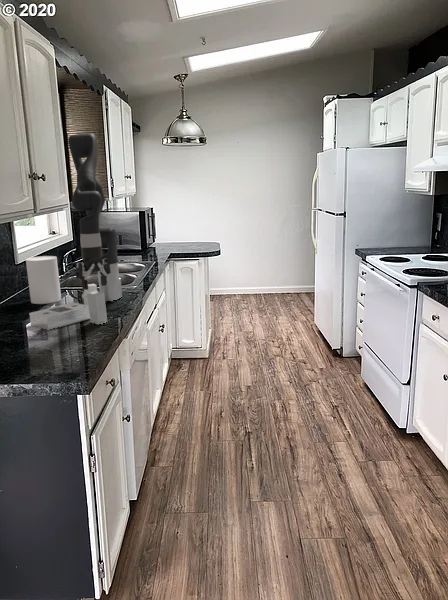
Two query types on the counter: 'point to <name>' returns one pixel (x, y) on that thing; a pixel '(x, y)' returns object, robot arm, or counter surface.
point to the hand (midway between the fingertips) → (94, 287)
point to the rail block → (60, 316)
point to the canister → (43, 279)
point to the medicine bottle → (91, 288)
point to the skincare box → (97, 307)
